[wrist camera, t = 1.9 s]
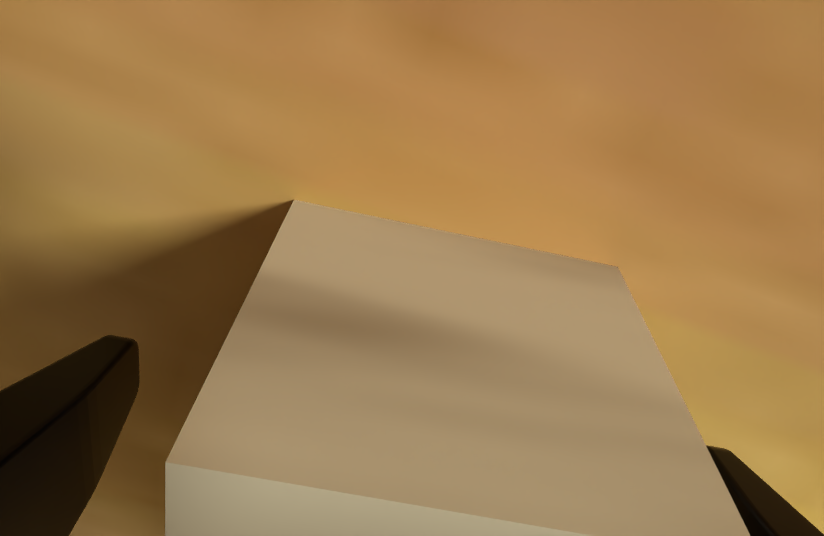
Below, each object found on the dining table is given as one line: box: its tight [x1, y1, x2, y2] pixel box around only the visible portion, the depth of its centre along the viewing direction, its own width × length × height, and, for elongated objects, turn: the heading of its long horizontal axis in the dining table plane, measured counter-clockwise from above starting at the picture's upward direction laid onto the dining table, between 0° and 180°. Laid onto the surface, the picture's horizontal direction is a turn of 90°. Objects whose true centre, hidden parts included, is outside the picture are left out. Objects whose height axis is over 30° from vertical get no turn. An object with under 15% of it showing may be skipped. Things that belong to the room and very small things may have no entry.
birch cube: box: [165, 200, 750, 536], centre depth 8 cm, size 5×5×5 cm
